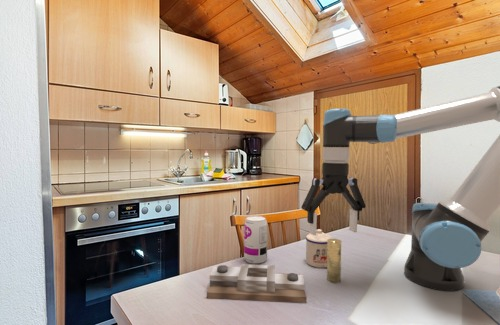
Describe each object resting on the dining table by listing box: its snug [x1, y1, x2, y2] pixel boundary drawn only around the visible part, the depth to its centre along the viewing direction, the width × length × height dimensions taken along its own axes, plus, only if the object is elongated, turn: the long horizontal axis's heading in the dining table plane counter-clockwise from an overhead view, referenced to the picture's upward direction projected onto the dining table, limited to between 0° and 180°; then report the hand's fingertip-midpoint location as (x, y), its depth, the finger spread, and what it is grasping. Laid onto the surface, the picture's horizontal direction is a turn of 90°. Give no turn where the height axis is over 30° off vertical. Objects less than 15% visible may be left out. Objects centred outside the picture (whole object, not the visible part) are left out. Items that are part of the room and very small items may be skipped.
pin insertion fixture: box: [206, 263, 307, 304], centre depth 78 cm, size 26×13×6 cm, turn 85°
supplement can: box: [243, 215, 268, 265], centre depth 97 cm, size 8×8×15 cm
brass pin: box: [326, 238, 342, 284], centre depth 82 cm, size 4×4×12 cm
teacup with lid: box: [305, 228, 333, 269], centre depth 95 cm, size 12×9×12 cm
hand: (333, 232), depth 82 cm, fingers open, 13 cm apart
